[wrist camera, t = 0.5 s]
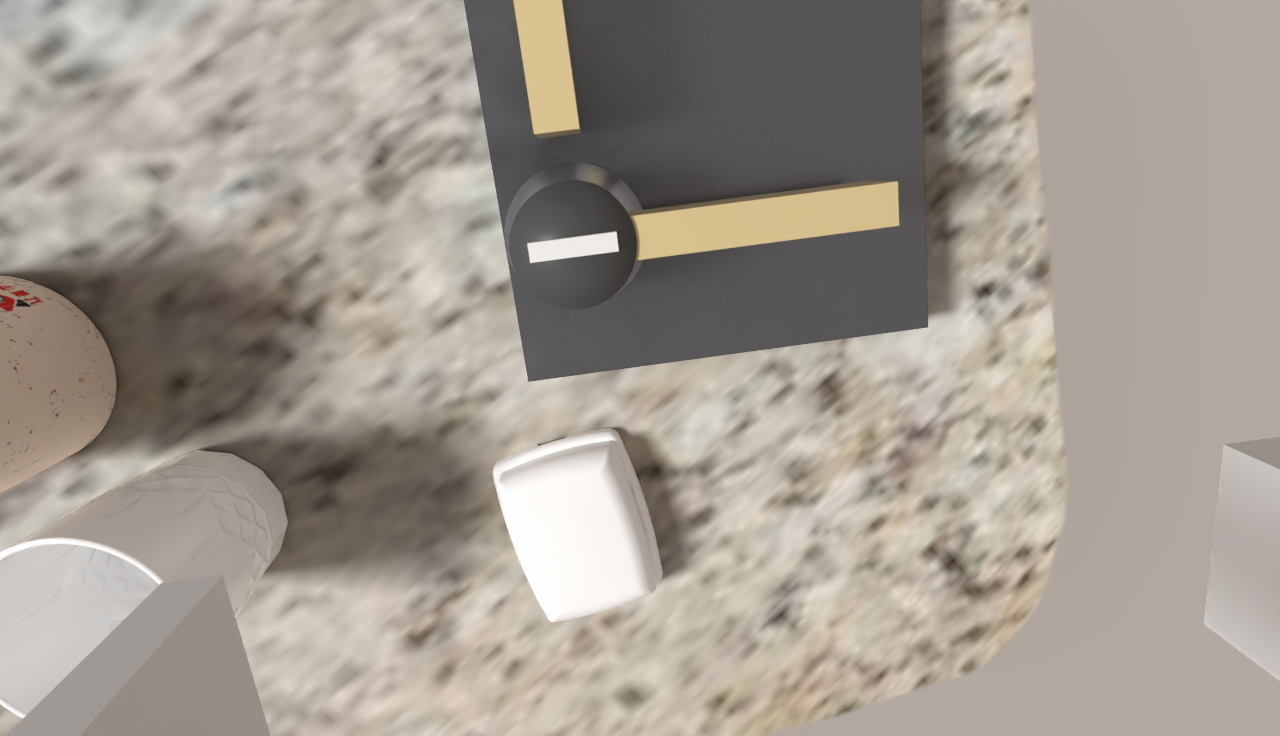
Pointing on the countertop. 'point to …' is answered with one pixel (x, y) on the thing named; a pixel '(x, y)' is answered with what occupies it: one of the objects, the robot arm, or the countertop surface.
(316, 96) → the countertop surface
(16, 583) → the white cup
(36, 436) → the teacup with lid
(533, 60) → the knob
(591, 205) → the knob
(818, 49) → the dark grey knob panel
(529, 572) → the soap
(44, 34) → the countertop surface
